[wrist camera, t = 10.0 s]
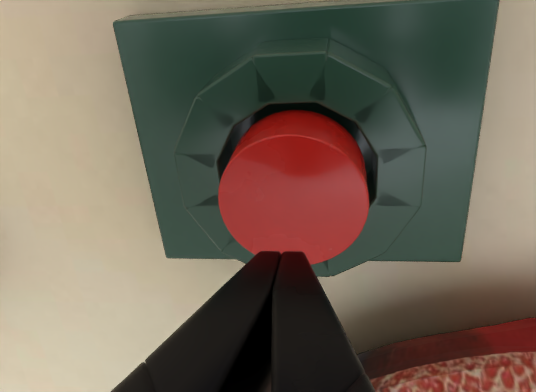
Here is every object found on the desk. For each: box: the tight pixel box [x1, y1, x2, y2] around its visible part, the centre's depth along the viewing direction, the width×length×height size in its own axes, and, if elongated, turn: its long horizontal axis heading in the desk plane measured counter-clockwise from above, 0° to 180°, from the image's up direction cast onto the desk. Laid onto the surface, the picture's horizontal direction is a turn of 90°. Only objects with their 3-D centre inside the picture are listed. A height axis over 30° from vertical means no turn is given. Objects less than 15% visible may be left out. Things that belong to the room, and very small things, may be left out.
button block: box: [113, 0, 499, 277], centre depth 13 cm, size 10×8×3 cm
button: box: [218, 110, 369, 265], centre depth 12 cm, size 4×4×2 cm
